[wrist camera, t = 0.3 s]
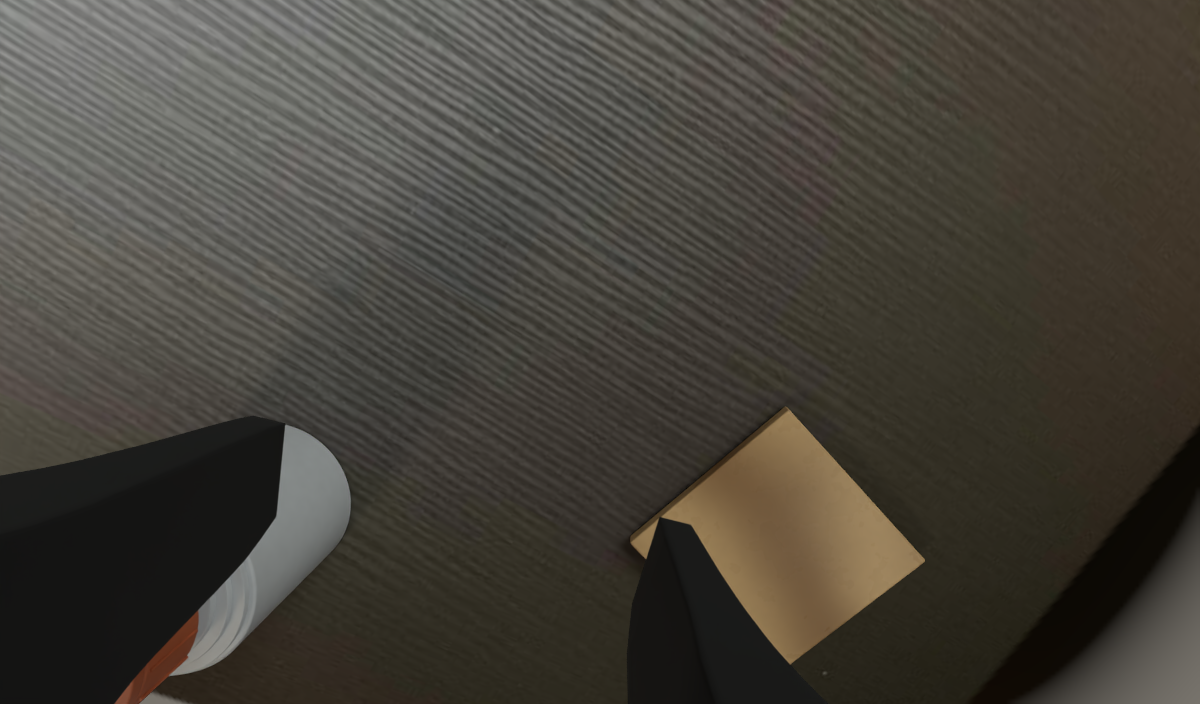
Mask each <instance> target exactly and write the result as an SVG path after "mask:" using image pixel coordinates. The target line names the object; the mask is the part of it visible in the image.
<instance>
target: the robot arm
mask: <svg viewBox="0 0 1200 704" xmlns="http://www.w3.org/2000/svg"><path fill="white" fill-rule="evenodd" d="M284 433H285V423H281V422H277V421H273V420H268V419H264V418H260V417H256V416H250V417H244V418H239V419H235V420H231V421H227V422H223V423H219V424H216V425H212V426H208V427H205V428H201V429H198V430H194V431H191V432H187V433H183V434H180V435H176V436H173V437H169V438H165V439H162V440H158V441H155V442H151V443H148V444H144V445H140V446H136V447H132V448H128V449H124V450H120V451H116V452H112V453H108V454H104V455H100V456H96V457H92V458H88V459H83V460H79V461H75V462H70V463H66V464H61V465H56V466H51V467H46V468H41V469H36V470H30V471H24V472H18V473H13V474H7V475H1V476H0V704H115V702H116V701H117V700H118V699H119V697H120V696H121V695H122V693H123V692H124V691H125V690H126V688H127V687H128V686H129V685H130V683H131V682H132V681H133V680H134V678H135V677H136V676H137V675H138V674H139V673H140V672H141V671H142V669H143V668H144V667H145V666H146V665H147V664H148V663H149V661H150V660H151V659H152V658H153V657H154V656H155V655H156V654H157V653H158V652H159V651H160V650H161V649H162V647H163V646H164V645H165V644H166V643H167V642H168V641H169V640H170V639H171V638H172V637H173V636H174V635H175V634H176V633H177V632H178V631H179V630H180V629H181V628H182V627H183V626H184V624H185V623H186V622H187V621H188V620H189V619H190V618H191V617H192V616H193V615H194V614H195V613H196V612H197V611H198V610H199V609H200V608H201V607H202V606H203V605H204V604H205V603H206V602H207V600H208V599H209V598H210V597H211V596H212V595H213V594H214V593H215V592H216V591H217V590H218V589H219V588H220V587H221V586H222V585H223V584H224V582H225V581H226V580H227V579H228V578H229V577H230V576H231V575H232V574H233V573H234V572H235V571H236V570H237V569H238V567H239V566H240V565H241V564H242V563H243V562H244V561H245V560H246V558H247V557H248V556H249V554H250V553H251V552H252V550H253V549H254V548H255V546H256V545H257V544H258V542H259V541H260V540H261V538H262V537H263V535H264V534H265V532H266V531H267V530H268V528H269V527H270V525H271V524H272V522H273V521H274V519H275V518H276V517H277V506H278V496H279V485H280V475H281V465H282V454H283V444H284ZM627 680H628V704H828V703H827V702H826V701H825V700H824V699H823V698H822V697H821V696H820V695H819V694H818V693H817V692H816V691H815V690H814V689H813V688H812V687H811V686H810V685H809V684H808V683H807V682H806V681H805V680H804V679H803V678H802V677H801V676H800V675H799V674H798V673H797V671H796V670H795V669H794V668H793V667H792V666H791V665H790V664H789V663H788V661H787V660H786V659H785V658H784V657H783V656H782V655H781V654H780V653H779V652H778V650H777V649H776V648H775V647H774V646H773V644H772V643H771V642H770V641H769V640H768V638H767V637H766V636H765V635H764V633H763V632H762V631H761V629H760V628H759V627H758V625H757V624H756V623H755V621H754V620H753V619H752V618H751V616H750V615H749V614H748V612H747V611H746V610H745V608H744V607H743V605H742V604H741V602H740V601H739V600H738V598H737V597H736V595H735V594H734V592H733V591H732V589H731V588H730V586H729V585H728V583H727V582H726V580H725V579H724V577H723V576H722V574H721V573H720V571H719V570H718V568H717V566H716V565H715V563H714V561H713V560H712V558H711V557H710V555H709V553H708V552H707V550H706V548H705V547H704V545H703V543H702V542H701V540H700V538H699V537H698V535H697V533H696V532H695V530H694V529H693V527H692V525H690V524H686V523H682V522H678V521H674V520H670V519H666V518H662V517H659V520H658V523H657V526H656V529H655V532H654V536H653V539H652V542H651V545H650V548H649V552H648V555H647V558H646V561H645V564H644V568H643V571H642V574H641V577H640V580H639V584H638V587H637V590H636V593H635V596H634V600H633V603H632V609H631V619H630V628H629V638H628V649H627Z"/></svg>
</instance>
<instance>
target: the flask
mask: <svg viewBox="0 0 1200 704" xmlns="http://www.w3.org/2000/svg"><path fill="white" fill-rule="evenodd" d="M350 510H351V498H350V490H349V486H348V482H347V479H346V476H345V474H344V472H343V470H342V468H341V466H340V464H339V463H338V461H337V460H336V458H335V457H334V455H333V454H332V453H331V452H330V451H329V450H328V449H327V448H326V447H325V446H324V445H323V444H322V443H321V442H320V441H318V440H317V439H316V438H314V437H313V436H311V435H309V434H308V433H306V432H304V431H302V430H299V429H297V428H294V427H292V426H288V425H285V433H284V444H283V454H282V465H281V475H280V485H279V496H278V506H277V517H276V518H275V519H274V521H273V522H272V524H271V525H270V527H269V528H268V530H267V531H266V532H265V534H264V535H263V537H262V538H261V540H260V541H259V542H258V544H257V545H256V546H255V548H254V549H253V550H252V552H251V553H250V554H249V556H248V557H247V558H246V560H245V561H244V562H243V563H242V564H241V565H240V566H239V567H238V569H237V570H236V571H235V572H234V573H233V574H232V575H231V576H230V577H229V578H228V579H227V580H226V581H225V582H224V584H223V585H222V586H221V587H220V588H219V589H218V590H217V591H216V592H215V593H214V594H213V595H212V596H211V597H210V598H209V599H208V600H207V602H206V603H205V604H204V605H203V606H202V607H201V608H200V609H199V610H198V611H199V624H198V633H197V635H196V638H195V641H194V644H193V646H192V648H191V650H190V652H189V654H188V655H187V656H188V658H187V660H186V661H184V662H183V663H182V664H181V665H180V666H179V667H178V668H177V669H176V670H175V671H174V672H173V673H171V674H170V675H169V676H173V675H181V674H187V673H191V672H195V671H199V670H202V669H205V668H207V667H210V666H212V665H214V664H216V663H217V662H219V661H221V660H222V659H224V658H225V657H226V656H228V655H229V654H230V653H231V652H232V651H233V650H234V649H235V648H236V647H237V646H238V645H239V644H240V643H241V642H242V641H243V640H244V639H245V638H246V637H247V636H248V635H249V634H250V633H251V632H252V631H253V630H254V629H255V628H256V627H257V626H258V625H259V624H260V623H261V622H262V621H263V620H264V619H265V618H266V617H267V616H268V615H269V614H270V613H271V612H272V611H273V610H274V609H275V608H276V607H277V606H278V605H279V604H280V603H281V602H282V601H283V600H284V599H285V598H286V597H287V596H288V595H289V594H290V593H291V592H292V591H293V590H294V589H295V588H296V587H297V586H298V585H299V584H300V583H301V582H302V581H303V580H304V579H305V578H306V577H307V576H308V575H309V574H310V573H311V572H312V571H313V570H314V569H315V568H316V567H317V566H318V565H319V564H320V563H321V562H322V561H323V560H324V559H325V558H326V556H327V555H328V554H329V553H330V552H331V551H332V550H333V549H334V548H335V547H336V546H337V545H338V543H339V542H340V540H341V539H342V537H343V535H344V533H345V531H346V528H347V525H348V522H349V517H350Z"/></svg>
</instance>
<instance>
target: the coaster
mask: <svg viewBox="0 0 1200 704" xmlns="http://www.w3.org/2000/svg"><path fill="white" fill-rule="evenodd" d="M659 517H662V518H666V519H670V520H674V521H678V522H682V523H686V524H690V525H692V527H693V529H694V530H695V532H696V533H697V535H698V537H699V538H700V540H701V542H702V543H703V545H704V547H705V548H706V550H707V552H708V553H709V555H710V557H711V558H712V560H713V561H714V563H715V565H716V566H717V568H718V570H719V571H720V573H721V574H722V576H723V577H724V579H725V580H726V582H727V583H728V585H729V586H730V588H731V589H732V591H733V592H734V594H735V595H736V597H737V598H738V600H739V601H740V602H741V604H742V605H743V607H744V608H745V610H746V611H747V612H748V614H749V615H750V616H751V618H752V619H753V620H754V621H755V623H756V624H757V625H758V627H759V628H760V629H761V631H762V632H763V633H764V635H765V636H766V637H767V638H768V640H769V641H770V642H771V643H772V644H773V646H774V647H775V648H776V649H777V650H778V652H779V653H780V654H781V655H782V656H783V657H784V658H785V659H786V660H787V661H788V663H789V664H791V663H793V662H794V661H795V660H796V659H798V658H799V657H800V656H802V655H803V654H804V653H806V652H807V651H808V650H810V649H811V648H812V647H814V646H815V645H816V644H817V643H819V642H820V641H821V640H823V639H824V638H825V637H827V636H828V635H829V634H831V633H832V632H833V631H835V630H836V629H837V628H838V627H840V626H841V625H842V624H844V623H845V622H846V621H848V620H849V619H850V618H852V617H853V616H854V615H856V614H857V613H858V612H859V611H861V610H862V609H863V608H865V607H866V606H867V605H869V604H870V603H871V602H873V601H874V600H875V599H877V598H878V597H879V596H880V595H882V594H883V593H884V592H886V591H887V590H888V589H890V588H891V587H892V586H894V585H895V584H896V583H898V582H899V581H900V580H901V579H903V578H904V577H905V576H907V575H908V574H909V573H911V572H912V571H913V570H915V569H916V568H917V567H919V566H920V565H921V564H922V563H924V562H925V559H924V558H923V557H922V556H921V555H920V554H919V553H918V552H917V550H916V549H915V548H914V547H913V546H912V545H911V544H910V543H909V542H908V540H907V539H906V538H905V537H904V536H903V535H902V534H901V533H900V532H899V530H898V529H897V528H896V527H895V526H894V525H893V524H892V523H891V522H890V521H889V519H888V518H887V517H886V516H885V515H884V514H883V513H882V512H881V511H880V509H879V508H878V507H877V506H876V505H875V504H874V503H873V502H872V501H871V500H870V498H869V497H868V496H867V495H866V494H865V493H864V492H863V491H862V490H861V488H860V487H859V486H858V485H857V484H856V483H855V482H854V481H853V480H852V478H851V477H850V476H849V475H848V474H847V473H846V472H845V471H844V470H843V469H842V467H841V466H840V465H839V464H838V463H837V462H836V461H835V460H834V459H833V457H832V456H831V455H830V454H829V453H828V452H827V451H826V450H825V449H824V448H823V446H822V445H821V444H820V443H819V442H818V441H817V440H816V439H815V438H814V436H813V435H812V434H811V433H810V432H809V431H808V430H807V429H806V428H805V426H804V425H803V424H802V423H801V422H800V421H799V420H798V419H797V418H796V417H795V415H794V414H793V413H792V412H791V411H790V410H789V409H788V408H787V407H784V408H783V409H781V410H780V411H779V412H778V413H777V414H775V415H774V416H773V417H772V418H771V419H769V420H768V421H767V422H766V423H765V424H764V425H762V426H761V427H760V428H759V429H758V430H756V431H755V432H754V433H753V434H752V435H750V436H749V437H748V438H747V439H746V440H744V441H743V442H742V443H741V444H740V445H738V446H737V447H736V448H735V449H734V450H733V451H731V452H730V453H729V454H728V455H727V456H725V457H724V458H723V459H722V460H721V461H719V462H718V463H717V464H716V465H715V466H713V467H712V468H711V469H710V470H709V471H707V472H706V473H705V474H704V475H703V476H702V477H700V478H699V479H698V480H697V481H696V482H694V483H693V484H692V485H691V486H690V487H688V488H687V489H686V490H685V491H684V492H682V493H681V494H680V495H679V496H678V497H677V498H675V499H674V500H673V501H672V502H671V503H669V504H668V505H667V506H666V507H665V508H663V509H662V510H661V511H660V512H659V513H657V514H656V515H655V516H654V517H653V518H651V519H650V520H649V521H648V522H647V523H646V524H644V525H643V526H642V527H641V528H640V529H638V530H637V531H636V532H635V533H634V534H632V535H631V537H630V543H631V544H632V546H633V547H634V548H635V549H636V550H637V551H638V552H639V553H640V554H641V555H642V556H643V557H644V558H645V559H646V558H647V555H648V552H649V548H650V545H651V542H652V539H653V536H654V532H655V529H656V526H657V523H658V520H659Z"/></svg>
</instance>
